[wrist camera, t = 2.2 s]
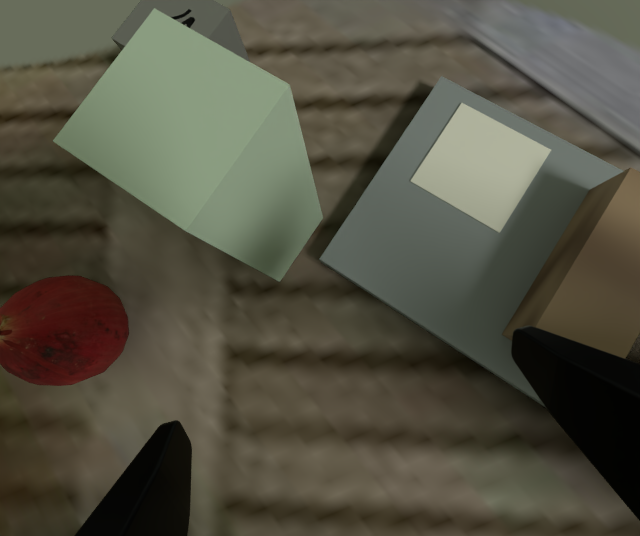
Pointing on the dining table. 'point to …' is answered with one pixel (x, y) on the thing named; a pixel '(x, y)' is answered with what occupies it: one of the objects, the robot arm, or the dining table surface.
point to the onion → (61, 331)
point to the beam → (592, 273)
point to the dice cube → (188, 22)
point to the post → (202, 143)
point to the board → (465, 222)
